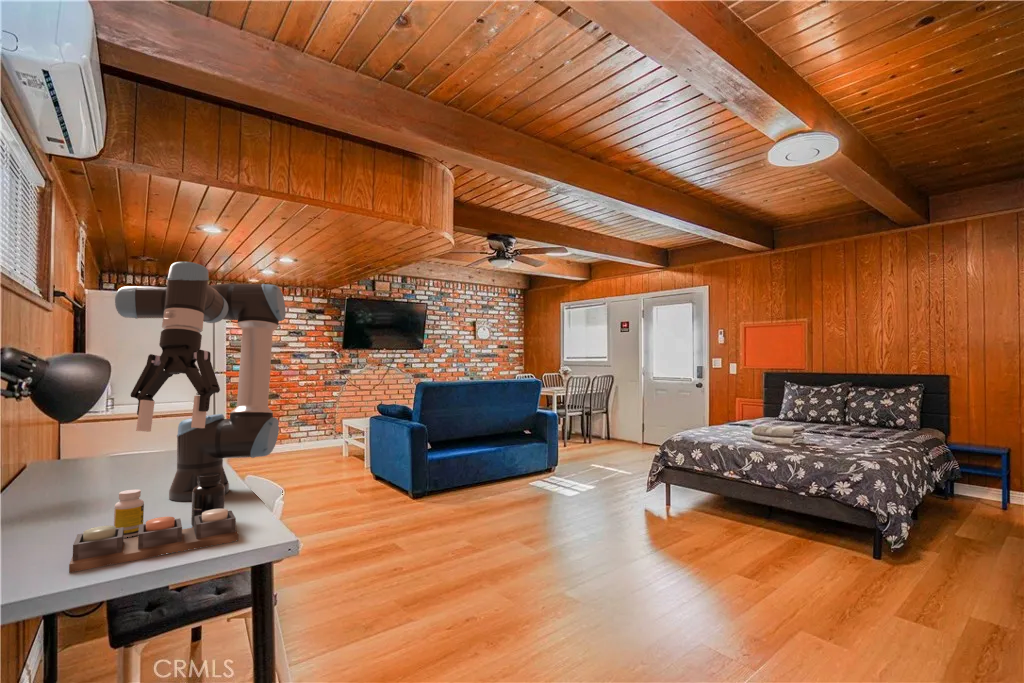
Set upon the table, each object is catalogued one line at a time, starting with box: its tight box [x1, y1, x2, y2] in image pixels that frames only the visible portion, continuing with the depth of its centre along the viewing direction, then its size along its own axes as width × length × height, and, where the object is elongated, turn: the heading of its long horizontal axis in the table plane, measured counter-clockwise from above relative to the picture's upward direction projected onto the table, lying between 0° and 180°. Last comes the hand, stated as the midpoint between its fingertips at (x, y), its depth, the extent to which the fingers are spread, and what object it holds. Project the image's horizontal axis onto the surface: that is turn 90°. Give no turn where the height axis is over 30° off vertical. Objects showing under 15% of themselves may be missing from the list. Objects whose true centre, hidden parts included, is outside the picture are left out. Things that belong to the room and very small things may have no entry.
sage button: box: [82, 525, 116, 542], centre depth 101 cm, size 5×5×2 cm
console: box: [68, 510, 239, 573], centre depth 107 cm, size 28×11×4 cm, turn 126°
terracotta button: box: [145, 516, 176, 532], centre depth 107 cm, size 5×5×2 cm
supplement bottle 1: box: [113, 489, 145, 539], centre depth 115 cm, size 5×5×10 cm
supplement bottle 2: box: [190, 472, 226, 528], centre depth 122 cm, size 7×7×12 cm
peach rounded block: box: [202, 508, 229, 523], centre depth 112 cm, size 5×5×2 cm
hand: (170, 429), depth 105 cm, fingers open, 13 cm apart
